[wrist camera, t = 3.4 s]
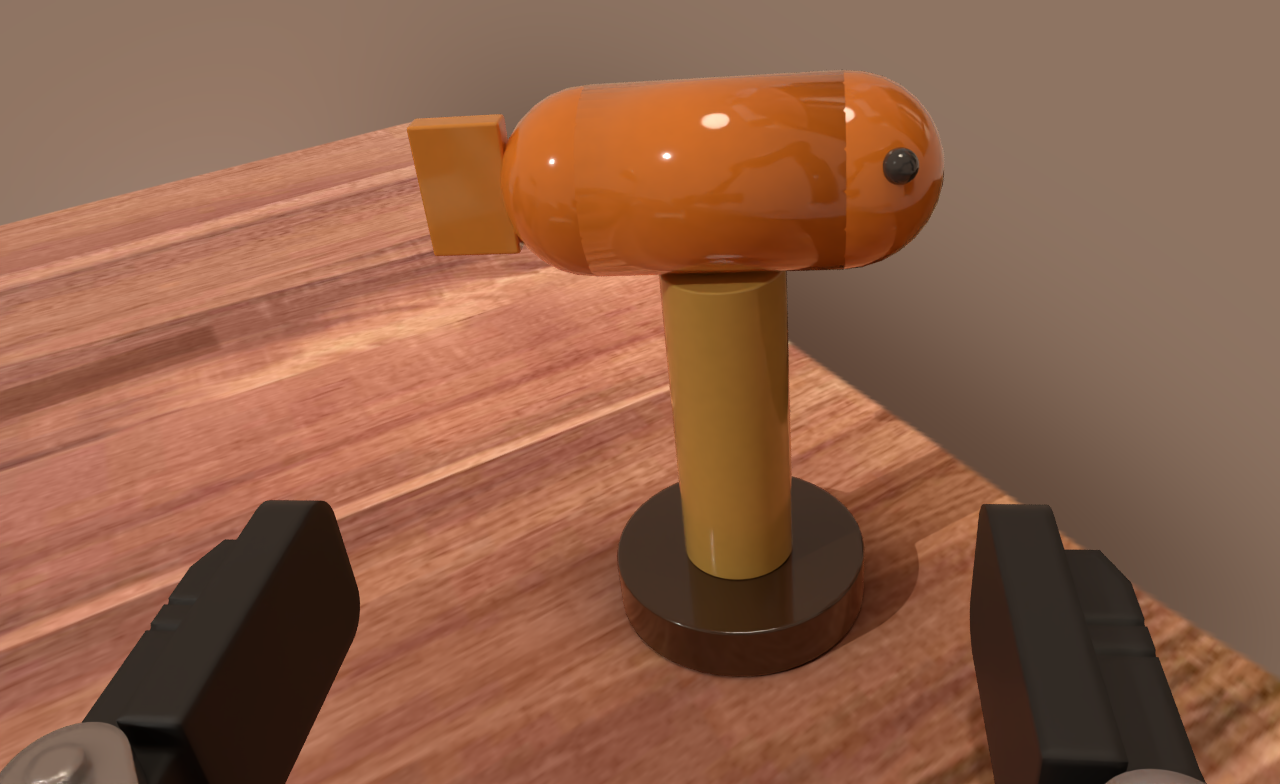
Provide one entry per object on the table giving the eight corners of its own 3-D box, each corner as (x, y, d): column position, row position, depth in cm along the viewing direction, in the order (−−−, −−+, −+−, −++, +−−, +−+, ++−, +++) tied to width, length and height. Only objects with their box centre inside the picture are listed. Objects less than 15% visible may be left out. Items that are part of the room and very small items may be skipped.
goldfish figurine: (481, 669, 27) (350, 155, 20) (534, 507, 32) (446, 54, 25) (930, 684, 25) (971, 125, 18) (908, 509, 31) (933, 23, 23)
